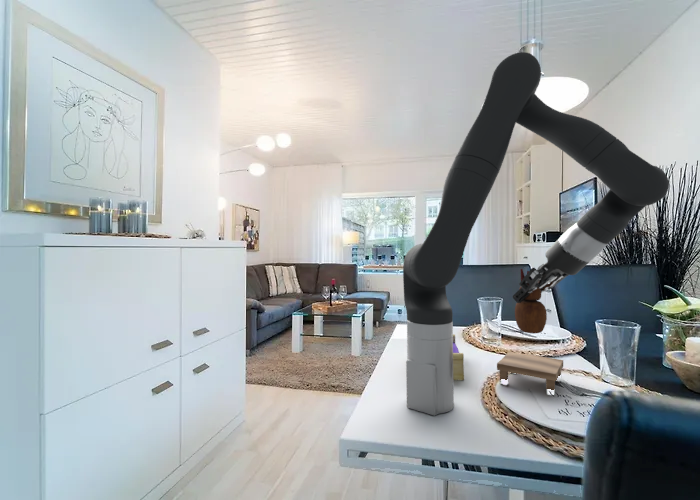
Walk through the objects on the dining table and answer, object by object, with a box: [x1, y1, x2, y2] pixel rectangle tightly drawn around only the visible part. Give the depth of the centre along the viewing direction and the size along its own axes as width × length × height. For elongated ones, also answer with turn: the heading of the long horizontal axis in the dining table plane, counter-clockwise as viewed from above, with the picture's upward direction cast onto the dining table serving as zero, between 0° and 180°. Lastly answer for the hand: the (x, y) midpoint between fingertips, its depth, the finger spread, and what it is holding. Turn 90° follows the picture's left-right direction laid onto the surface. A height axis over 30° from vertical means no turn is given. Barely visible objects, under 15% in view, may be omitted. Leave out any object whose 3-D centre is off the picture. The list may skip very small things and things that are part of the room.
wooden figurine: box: [514, 268, 548, 334], centre depth 82 cm, size 7×6×15 cm
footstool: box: [496, 351, 564, 390], centre depth 82 cm, size 12×12×5 cm
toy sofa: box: [453, 333, 465, 381], centre depth 94 cm, size 21×9×10 cm, turn 169°
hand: (522, 299), depth 83 cm, fingers closed on wooden figurine, 4 cm apart
